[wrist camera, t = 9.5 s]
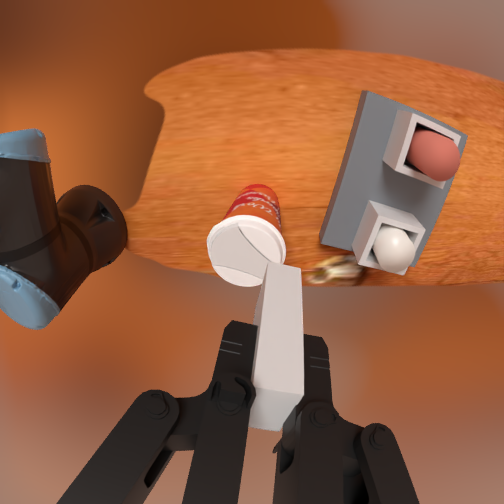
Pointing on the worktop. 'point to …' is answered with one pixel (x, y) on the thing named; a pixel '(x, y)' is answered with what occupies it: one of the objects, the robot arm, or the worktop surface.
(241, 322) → the robot arm
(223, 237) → the coffee cup
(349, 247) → the board
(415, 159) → the red plug
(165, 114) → the worktop surface
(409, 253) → the plug
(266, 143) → the worktop surface
